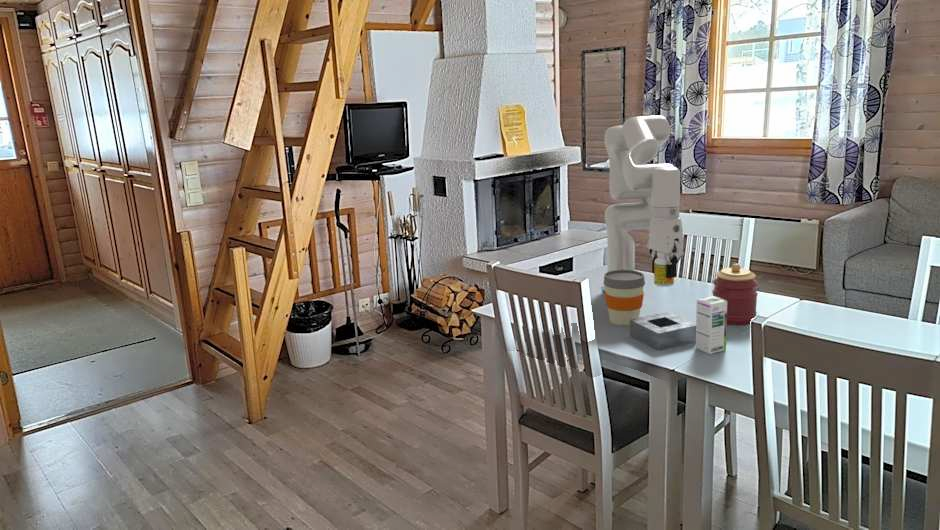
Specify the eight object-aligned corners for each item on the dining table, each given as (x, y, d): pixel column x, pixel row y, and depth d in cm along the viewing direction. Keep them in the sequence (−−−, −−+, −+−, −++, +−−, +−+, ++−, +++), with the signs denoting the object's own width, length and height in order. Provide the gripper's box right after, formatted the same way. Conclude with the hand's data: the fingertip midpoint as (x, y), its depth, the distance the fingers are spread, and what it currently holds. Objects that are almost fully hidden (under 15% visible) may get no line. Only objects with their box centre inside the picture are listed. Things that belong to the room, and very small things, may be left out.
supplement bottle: (654, 287, 187) (655, 253, 184) (653, 281, 192) (653, 249, 189) (674, 287, 185) (675, 253, 183) (672, 281, 191) (673, 249, 188)
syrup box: (710, 354, 180) (711, 304, 176) (694, 347, 185) (696, 298, 181) (726, 350, 182) (728, 300, 178) (710, 343, 187) (712, 294, 183)
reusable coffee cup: (650, 317, 211) (650, 272, 207) (636, 329, 201) (636, 282, 197) (613, 312, 218) (612, 268, 214) (597, 323, 208) (597, 277, 204)
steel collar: (629, 335, 197) (629, 319, 195) (666, 327, 201) (667, 311, 200) (658, 350, 185) (658, 333, 183) (696, 341, 189) (697, 325, 188)
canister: (705, 321, 205) (707, 266, 200) (718, 309, 215) (720, 256, 210) (749, 328, 197) (752, 271, 192) (761, 315, 207) (764, 261, 202)
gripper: (697, 214, 177) (695, 280, 181) (657, 206, 193) (656, 266, 197) (674, 218, 174) (672, 284, 179) (635, 209, 190) (635, 270, 194)
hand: (664, 274), depth 188 cm, fingers closed on supplement bottle, 5 cm apart
